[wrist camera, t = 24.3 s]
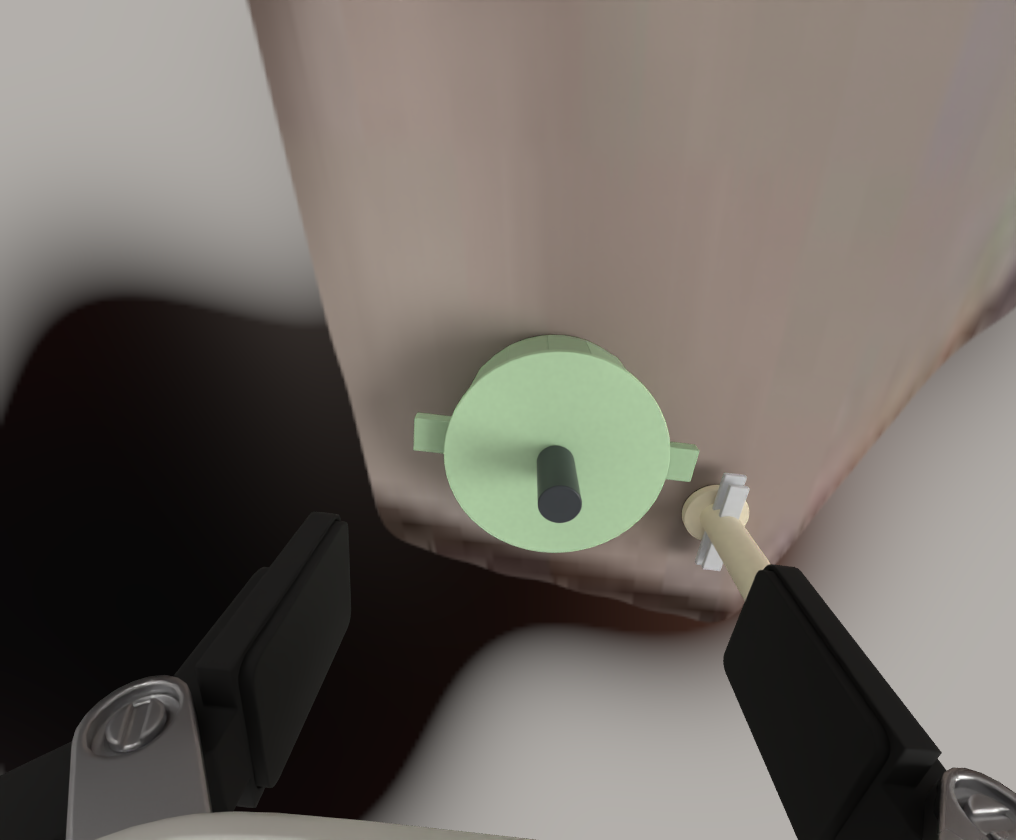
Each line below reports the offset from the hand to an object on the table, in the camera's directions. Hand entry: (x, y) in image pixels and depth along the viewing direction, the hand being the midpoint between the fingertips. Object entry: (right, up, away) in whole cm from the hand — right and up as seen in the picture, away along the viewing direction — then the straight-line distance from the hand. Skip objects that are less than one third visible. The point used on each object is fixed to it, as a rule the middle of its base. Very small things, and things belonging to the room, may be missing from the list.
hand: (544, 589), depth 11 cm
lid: (+2, +1, +20) cm, 20 cm away
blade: (+16, -4, +27) cm, 32 cm away
